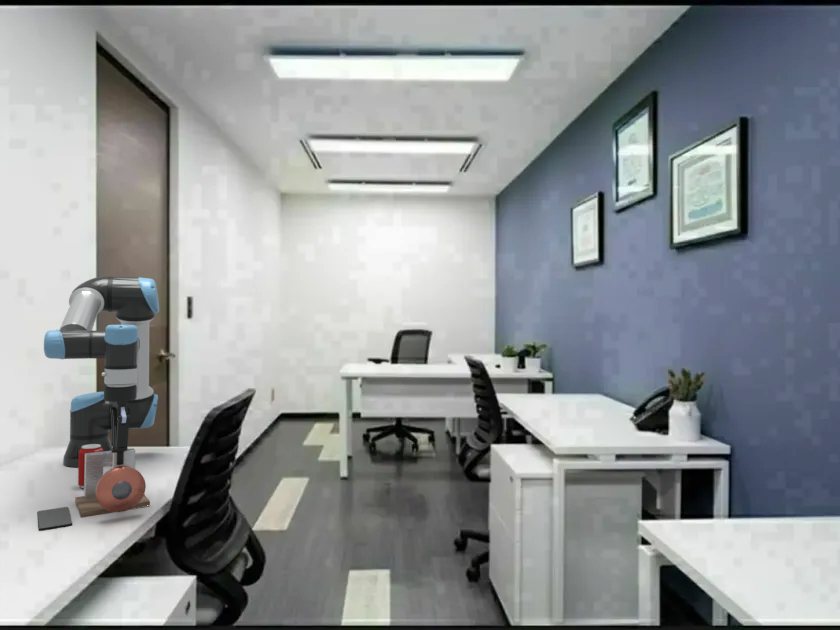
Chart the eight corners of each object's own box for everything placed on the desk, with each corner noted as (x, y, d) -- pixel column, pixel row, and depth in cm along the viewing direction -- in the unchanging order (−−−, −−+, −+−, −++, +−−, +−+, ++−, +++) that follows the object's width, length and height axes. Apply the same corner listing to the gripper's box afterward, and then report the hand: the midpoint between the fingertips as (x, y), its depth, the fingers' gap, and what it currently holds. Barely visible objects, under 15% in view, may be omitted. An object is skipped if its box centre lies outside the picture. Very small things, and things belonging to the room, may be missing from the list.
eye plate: (83, 501, 157) (84, 453, 157) (132, 493, 164) (133, 448, 164) (85, 504, 155) (86, 455, 155) (134, 496, 162) (135, 450, 162)
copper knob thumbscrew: (88, 498, 153) (89, 457, 153) (134, 492, 160) (134, 452, 160) (96, 516, 140) (97, 471, 140) (145, 508, 147) (146, 465, 147)
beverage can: (91, 490, 166) (92, 449, 166) (72, 488, 168) (73, 447, 168) (107, 484, 173) (108, 444, 172) (89, 482, 174) (90, 442, 174)
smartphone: (68, 506, 152) (72, 523, 140) (68, 509, 152) (72, 527, 140) (36, 510, 148) (38, 528, 136) (36, 514, 148) (38, 532, 136)
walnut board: (75, 501, 157) (75, 497, 157) (139, 492, 166) (139, 487, 166) (80, 517, 145) (81, 512, 145) (149, 506, 155) (149, 501, 155)
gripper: (100, 382, 151) (98, 472, 151) (107, 388, 141) (106, 485, 141) (131, 381, 156) (130, 468, 156) (141, 387, 145) (139, 480, 145)
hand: (118, 476), depth 148 cm, fingers closed
